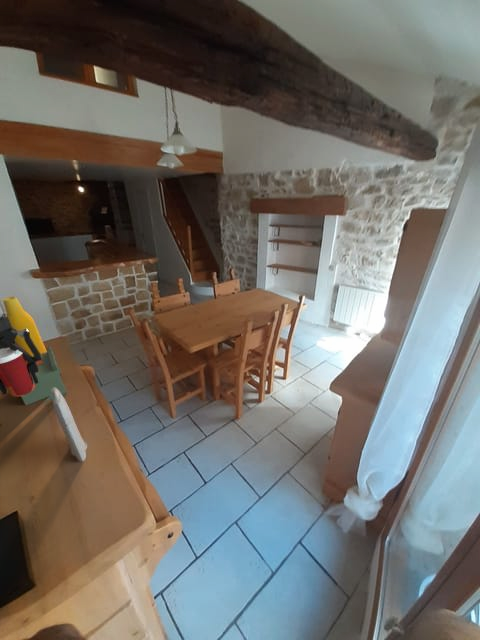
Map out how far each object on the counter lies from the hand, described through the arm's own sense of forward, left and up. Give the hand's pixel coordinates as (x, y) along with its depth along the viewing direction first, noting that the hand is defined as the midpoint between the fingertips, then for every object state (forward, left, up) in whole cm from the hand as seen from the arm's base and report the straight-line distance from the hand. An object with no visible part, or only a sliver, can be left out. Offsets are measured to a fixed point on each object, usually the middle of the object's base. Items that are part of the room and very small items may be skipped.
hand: (21, 386), depth 75 cm
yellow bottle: (-33, +34, -17) cm, 50 cm away
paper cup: (0, 0, -2) cm, 2 cm away
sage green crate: (-12, +15, -16) cm, 25 cm away
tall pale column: (+19, -7, -17) cm, 26 cm away
